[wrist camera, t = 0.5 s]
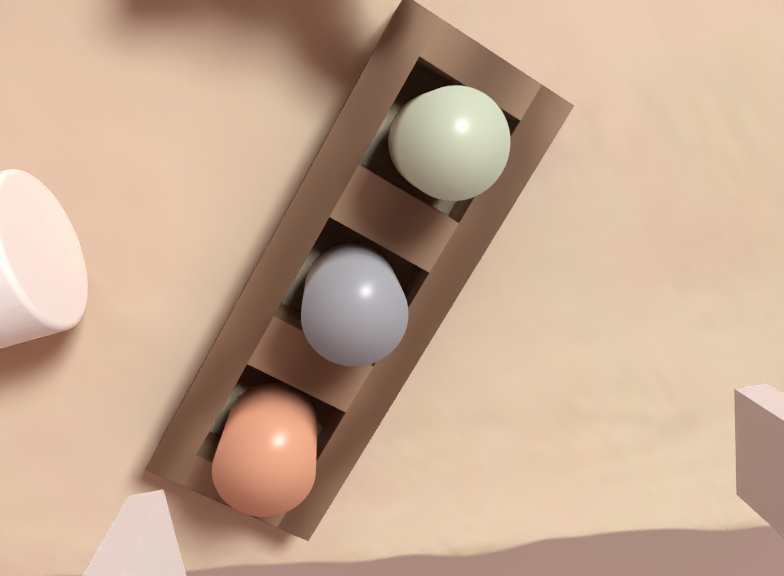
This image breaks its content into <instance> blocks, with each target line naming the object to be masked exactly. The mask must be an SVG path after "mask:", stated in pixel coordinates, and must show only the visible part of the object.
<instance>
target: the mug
mask: <svg viewBox="0 0 784 576" xmlns="http://www.w3.org/2000/svg"><path fill="white" fill-rule="evenodd" d="M87 299H88V280H87V272H86V266H85V261H84V257H83V254H82V250H81V247H80V244H79V241H78V238H77V236H76V233H75V231H74V229H73V227H72V225H71V223H70V221H69V219H68V217H67V215H66V213H65V212H64V210H63V208H62V207H61V205H60V204H59V202H58V201H57V199H56V198H55V197H54V195H53V194H52V193H51V192H50V191H49V190H48V188H47V187H46V186H45V185H44V184H42V183H41V182H40V181H39V180H38V179H36V178H35V177H34V176H32V175H30V174H28V173H26V172H24V171H21V170H16V169H8V170H4V171H0V349H1V348H4V347H8V346H12V345H15V344H19V343H23V342H26V341H30V340H34V339H37V338H41V337H44V336H48V335H52V334H55V333H59V332H63V331H66V330H69V329H71V328H73V327H74V326H76V325H77V324H78V323H79V321H80V320H81V318H82V317H83V314H84V312H85V309H86V305H87Z"/></svg>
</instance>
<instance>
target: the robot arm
mask: <svg viewBox="0 0 784 576" xmlns="http://www.w3.org/2000/svg"><path fill="white" fill-rule="evenodd" d="M734 393H735V441H736V490H737V495H738V496H739V497H740V498H741V499H742V500H743V501H744V502H746V503H747V504H748V505H749V506H750V507H751V508H752V509H753V510H754V511H755V512H757V513H758V514H759V515H760V516H761V517H762V518H763V519H764V520H765V521H766V522H768V523H769V524H770V525H771V526H772V527H773V528H774V529H775V530H776V531H777V532H779V533H780V534H781V535H782V536H783V537H784V393H782V392H781V391H779V390H777V389H776V388H774V387H772V386H770V385H769V384H767V383H765V384H759V385H753V386H748V387H742V388H736V389H734ZM82 576H186V573H185V569H184V565H183V561H182V558H181V554H180V550H179V546H178V543H177V539H176V535H175V531H174V528H173V524H172V520H171V516H170V513H169V509H168V505H167V501H166V497H165V494H164V490H157V491H152V492H146V493H140V494H135V495H129V496H128V498H127V499H126V501H125V503H124V504H123V506H122V508H121V510H120V511H119V513H118V515H117V517H116V518H115V520H114V522H113V523H112V525H111V527H110V529H109V530H108V532H107V534H106V535H105V537H104V539H103V541H102V542H101V544H100V546H99V548H98V549H97V551H96V553H95V554H94V556H93V558H92V560H91V561H90V563H89V565H88V566H87V568H86V570H85V572H84V573H83V575H82Z"/></svg>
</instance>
